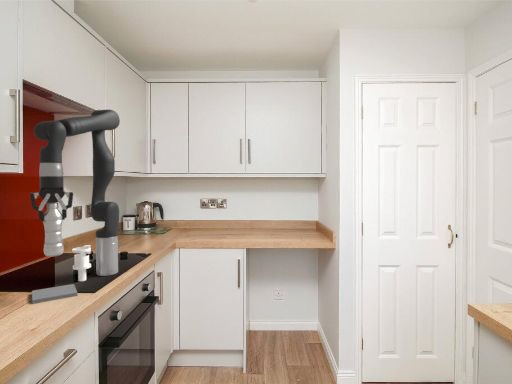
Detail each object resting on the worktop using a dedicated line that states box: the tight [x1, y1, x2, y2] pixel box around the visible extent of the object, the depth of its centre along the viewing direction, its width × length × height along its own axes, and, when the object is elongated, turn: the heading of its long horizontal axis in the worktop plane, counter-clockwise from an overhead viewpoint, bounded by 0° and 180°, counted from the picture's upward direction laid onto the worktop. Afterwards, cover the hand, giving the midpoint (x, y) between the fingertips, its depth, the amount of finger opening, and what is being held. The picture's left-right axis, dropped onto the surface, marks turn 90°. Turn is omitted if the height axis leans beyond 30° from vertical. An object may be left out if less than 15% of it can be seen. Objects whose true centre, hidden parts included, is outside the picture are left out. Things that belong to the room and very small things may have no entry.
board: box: [31, 283, 78, 304], centre depth 124 cm, size 12×14×1 cm
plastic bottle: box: [42, 202, 65, 257], centre depth 123 cm, size 6×7×20 cm
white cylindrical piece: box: [71, 244, 92, 282], centre depth 141 cm, size 7×7×15 cm
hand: (52, 220), depth 123 cm, fingers closed on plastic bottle, 6 cm apart
